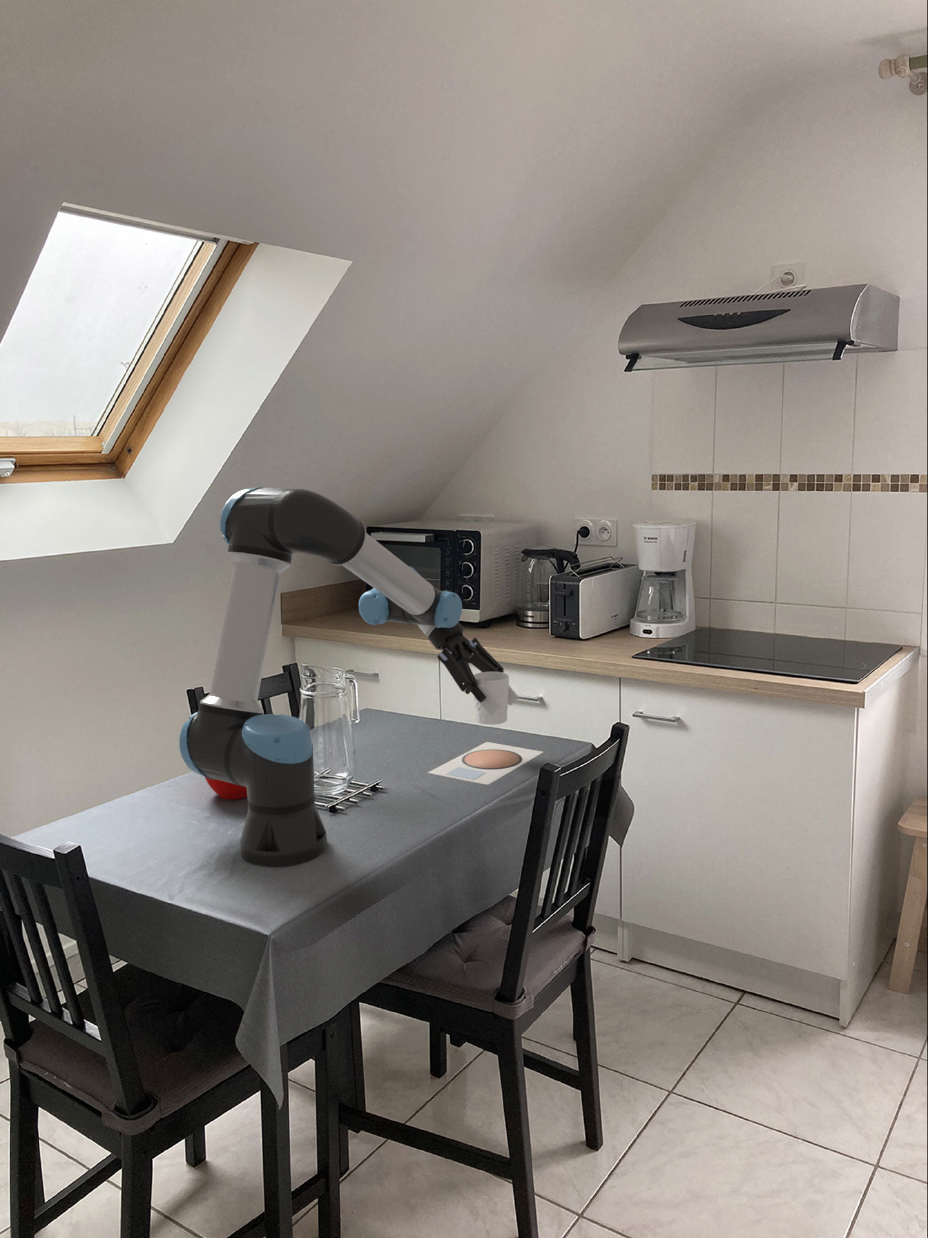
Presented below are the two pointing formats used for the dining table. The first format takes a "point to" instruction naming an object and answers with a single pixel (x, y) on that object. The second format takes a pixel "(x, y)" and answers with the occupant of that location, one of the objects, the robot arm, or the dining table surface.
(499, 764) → the circle mark
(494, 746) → the white flat rectangular sheet
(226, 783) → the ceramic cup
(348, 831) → the dining table surface
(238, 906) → the dining table surface
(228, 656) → the robot arm
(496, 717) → the white cup
